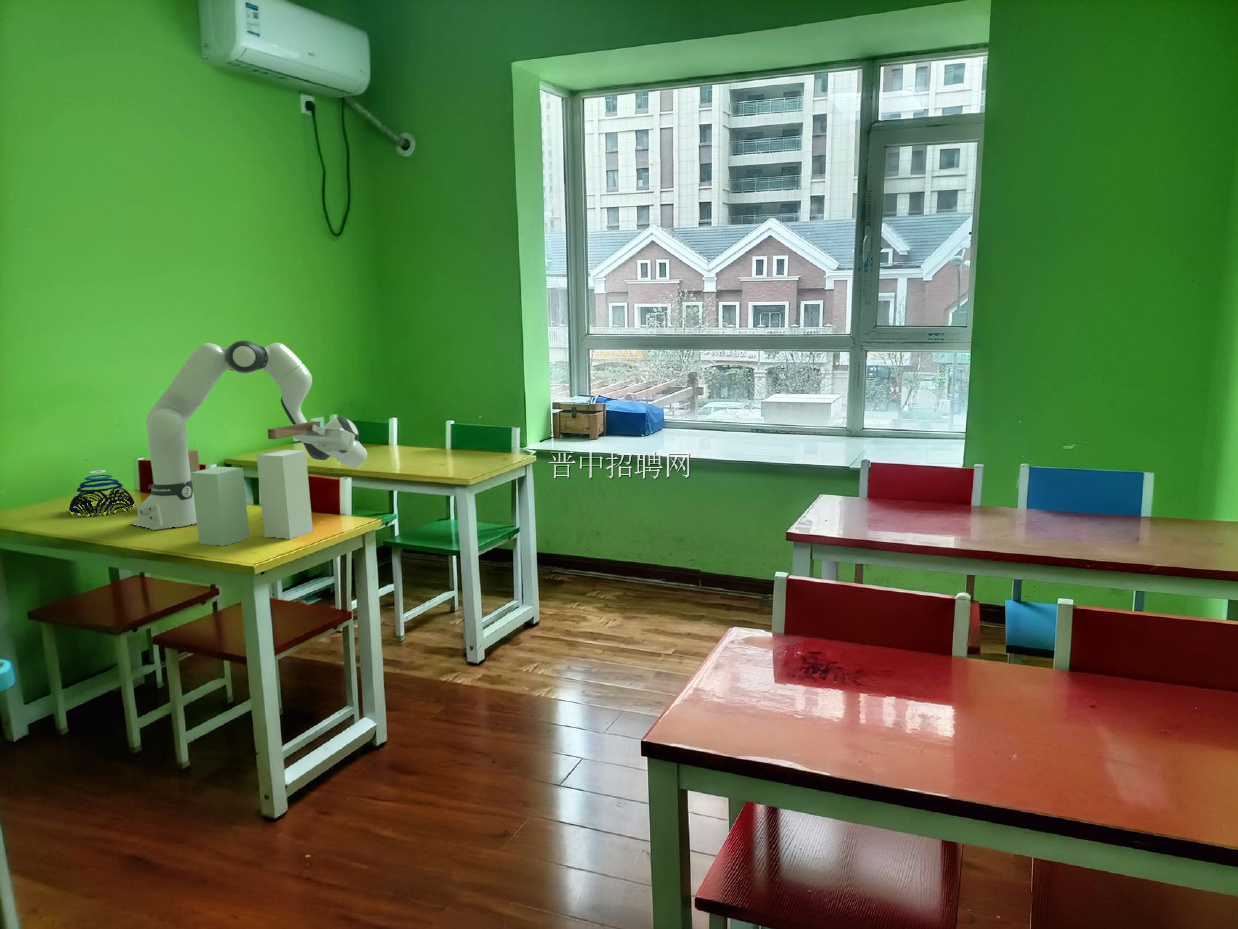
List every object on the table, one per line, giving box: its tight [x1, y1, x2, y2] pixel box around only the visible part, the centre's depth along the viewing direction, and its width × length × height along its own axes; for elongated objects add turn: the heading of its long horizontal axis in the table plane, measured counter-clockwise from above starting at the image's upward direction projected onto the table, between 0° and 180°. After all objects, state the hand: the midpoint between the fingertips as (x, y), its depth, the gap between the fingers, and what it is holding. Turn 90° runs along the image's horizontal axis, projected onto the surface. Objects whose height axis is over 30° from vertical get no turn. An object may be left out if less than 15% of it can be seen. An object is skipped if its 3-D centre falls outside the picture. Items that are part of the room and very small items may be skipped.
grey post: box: [256, 449, 314, 540], centre depth 262 cm, size 10×10×26 cm
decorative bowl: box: [68, 469, 135, 515], centre depth 301 cm, size 20×20×14 cm
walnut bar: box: [267, 420, 321, 440], centre depth 269 cm, size 3×20×3 cm, turn 159°
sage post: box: [191, 466, 251, 547], centre depth 257 cm, size 10×10×22 cm
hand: (306, 426), depth 274 cm, fingers closed on walnut bar, 3 cm apart
